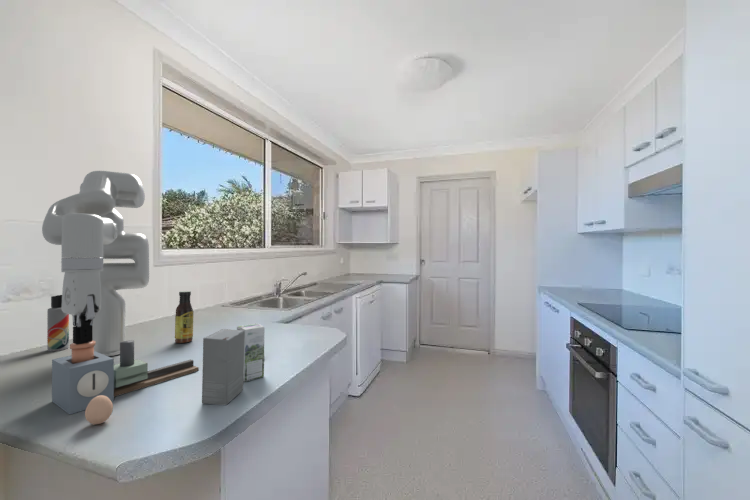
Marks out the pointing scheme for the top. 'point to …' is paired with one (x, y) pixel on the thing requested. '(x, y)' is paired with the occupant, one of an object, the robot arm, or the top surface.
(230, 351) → the skincare box
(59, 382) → the cabinet
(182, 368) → the slide rail
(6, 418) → the top surface
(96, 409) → the egg
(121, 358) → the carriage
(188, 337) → the sauce bottle
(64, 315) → the lotion bottle
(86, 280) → the robot arm
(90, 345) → the button
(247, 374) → the syrup box
